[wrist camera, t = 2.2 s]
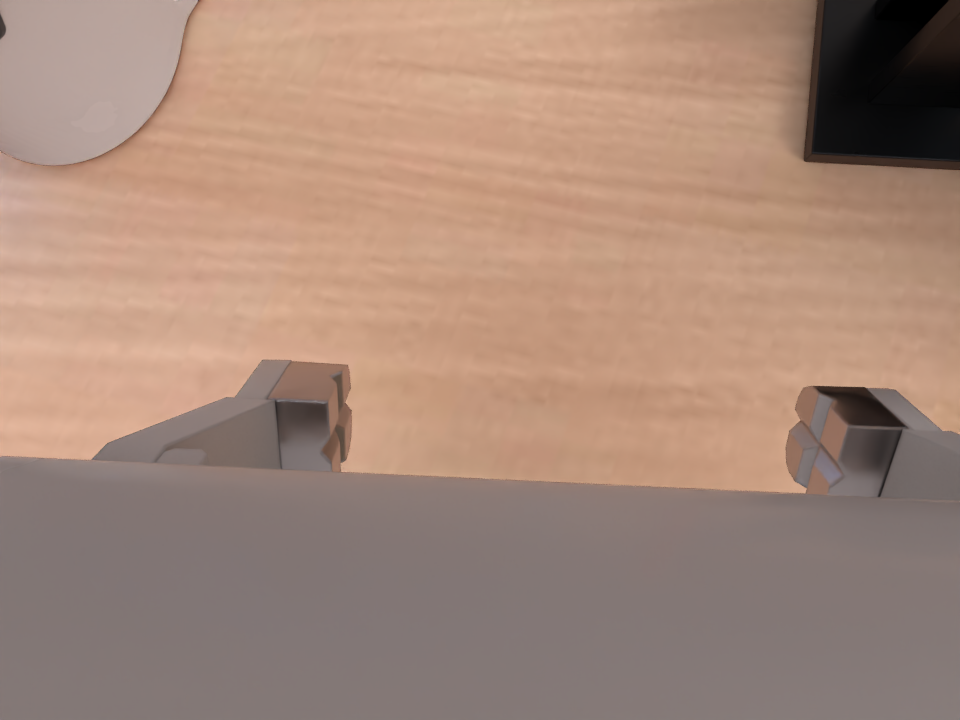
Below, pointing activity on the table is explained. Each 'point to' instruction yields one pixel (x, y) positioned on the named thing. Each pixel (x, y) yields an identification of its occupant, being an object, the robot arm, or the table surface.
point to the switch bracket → (886, 84)
